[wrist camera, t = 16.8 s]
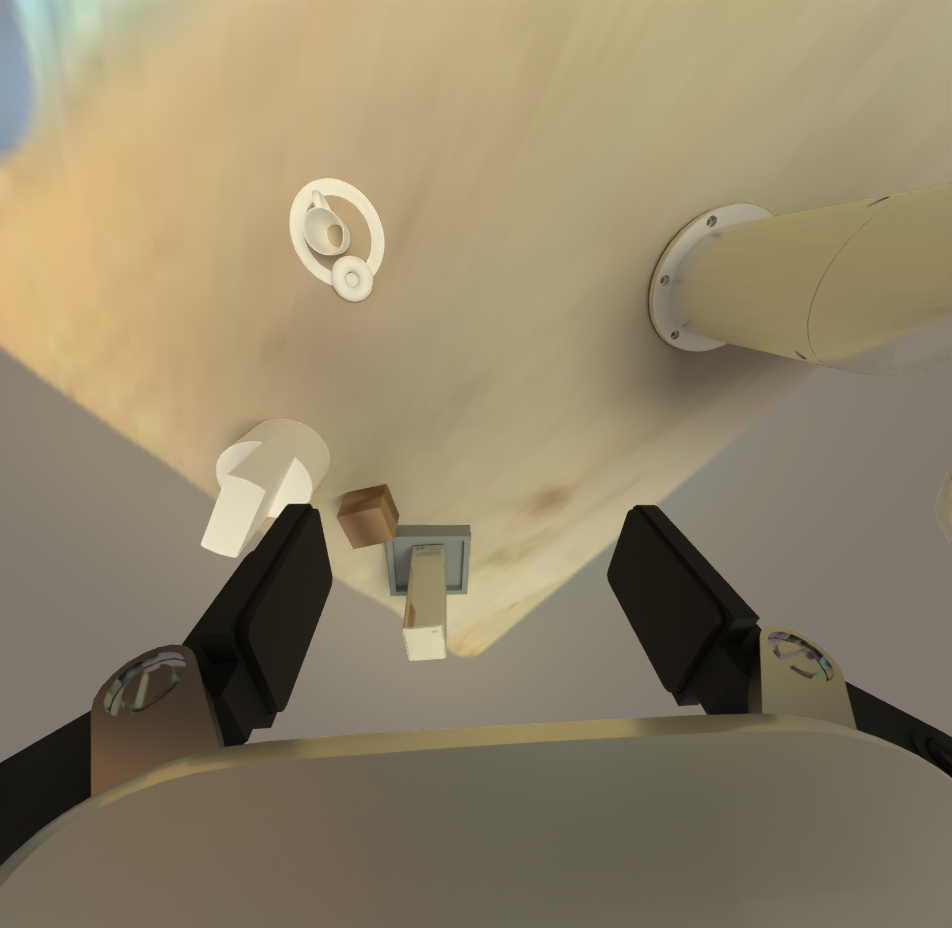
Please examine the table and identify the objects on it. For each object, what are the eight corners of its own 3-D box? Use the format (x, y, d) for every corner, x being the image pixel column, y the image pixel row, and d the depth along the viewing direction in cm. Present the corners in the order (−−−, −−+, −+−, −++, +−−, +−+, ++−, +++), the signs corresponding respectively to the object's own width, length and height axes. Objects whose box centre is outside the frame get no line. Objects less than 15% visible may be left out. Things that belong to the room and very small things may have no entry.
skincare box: (411, 545, 45) (400, 627, 35) (444, 542, 46) (442, 623, 35) (416, 578, 49) (408, 663, 38) (447, 576, 49) (446, 660, 38)
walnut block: (386, 483, 42) (379, 507, 38) (399, 514, 44) (393, 540, 40) (348, 491, 42) (336, 516, 38) (362, 522, 45) (353, 548, 40)
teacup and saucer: (379, 306, 33) (371, 310, 29) (292, 285, 31) (272, 285, 28) (390, 196, 29) (382, 184, 25) (290, 166, 27) (267, 149, 24)
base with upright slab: (313, 498, 42) (269, 571, 32) (237, 466, 39) (161, 534, 29) (342, 442, 39) (303, 503, 28) (261, 403, 36) (185, 454, 26)
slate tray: (469, 525, 46) (470, 536, 44) (466, 582, 51) (467, 594, 49) (387, 525, 45) (385, 536, 43) (392, 583, 50) (390, 595, 48)
